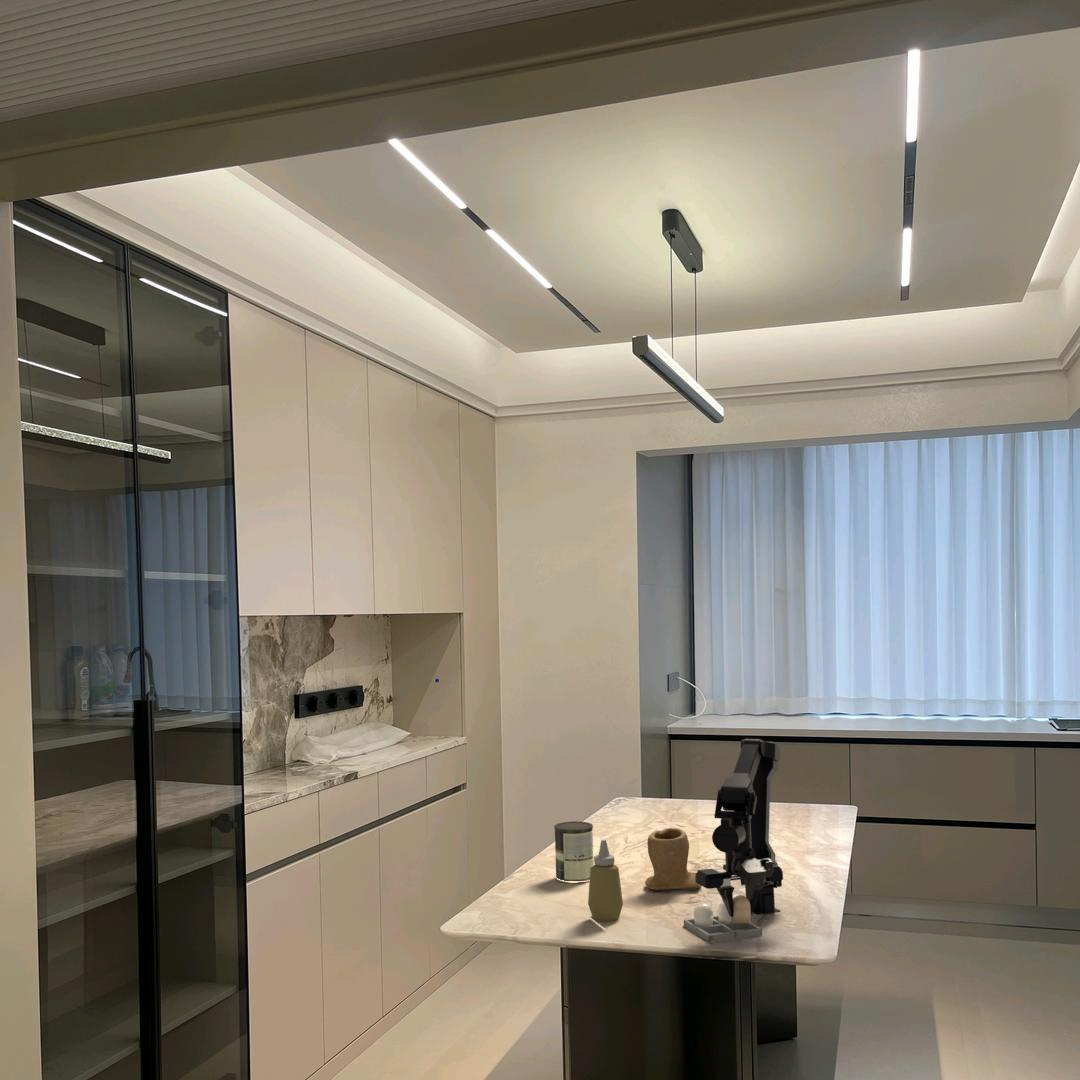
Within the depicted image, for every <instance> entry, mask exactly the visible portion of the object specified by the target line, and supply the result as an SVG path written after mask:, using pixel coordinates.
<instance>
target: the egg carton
mask: <svg viewBox="0 0 1080 1080" xmlns="http://www.w3.org/2000/svg"><path fill="white" fill-rule="evenodd" d="M683 927H685V928H686V929H688V930H690V931H691V932H692V933H694V934H696V935H697V936H698V937H700V938H702V939H704V940H705V941H707V942H709V943H716V942H723V941H731V940H738V939H747V938H753V937H760V936H763V929H762V927H759V926H758V925H755V923H753V922H749V923H735V922H734V923H726V924H722V923H720V922H719V919H718V915H713V925H710V926H702V927H697V926H696V925H694V918H689V919H683Z"/></svg>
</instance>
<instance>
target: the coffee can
mask: <svg viewBox="0 0 1080 1080" xmlns="http://www.w3.org/2000/svg"><path fill="white" fill-rule="evenodd" d="M593 828H594V826H593V824H592V823H591V822H586V821H575V820H574V821H565V822H563V821H562V822H558V823H556V824H555V825H554V845H555V847H554V848H555V851H554V852H555V878H556V877H557V878H558V879H560V880H564V881H587V880H590V868H591V867H592V866H593V865H594V844H593V843H594V840H593V839H594V837H593Z"/></svg>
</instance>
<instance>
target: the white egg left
mask: <svg viewBox="0 0 1080 1080" xmlns="http://www.w3.org/2000/svg"><path fill="white" fill-rule="evenodd" d="M717 912H718V913H717V914H718V915H717V916H718V919H719V922H720V923H722V924H726V923H734V922H733V921H731V916H729V913H728V911H727V909H726V907H725V904H724V902H723V901H721V902H720V904H719V905H718V909H717Z"/></svg>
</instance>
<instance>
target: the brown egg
mask: <svg viewBox="0 0 1080 1080" xmlns="http://www.w3.org/2000/svg"><path fill="white" fill-rule="evenodd" d="M733 908H734V913H733V917H731V921H733V922H735V923H749V922H750V923H752V915H751V907H750V902H749V900H748V899H747V898H746V895H745V896H744V895H740V894H739V895H736V896H733Z"/></svg>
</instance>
